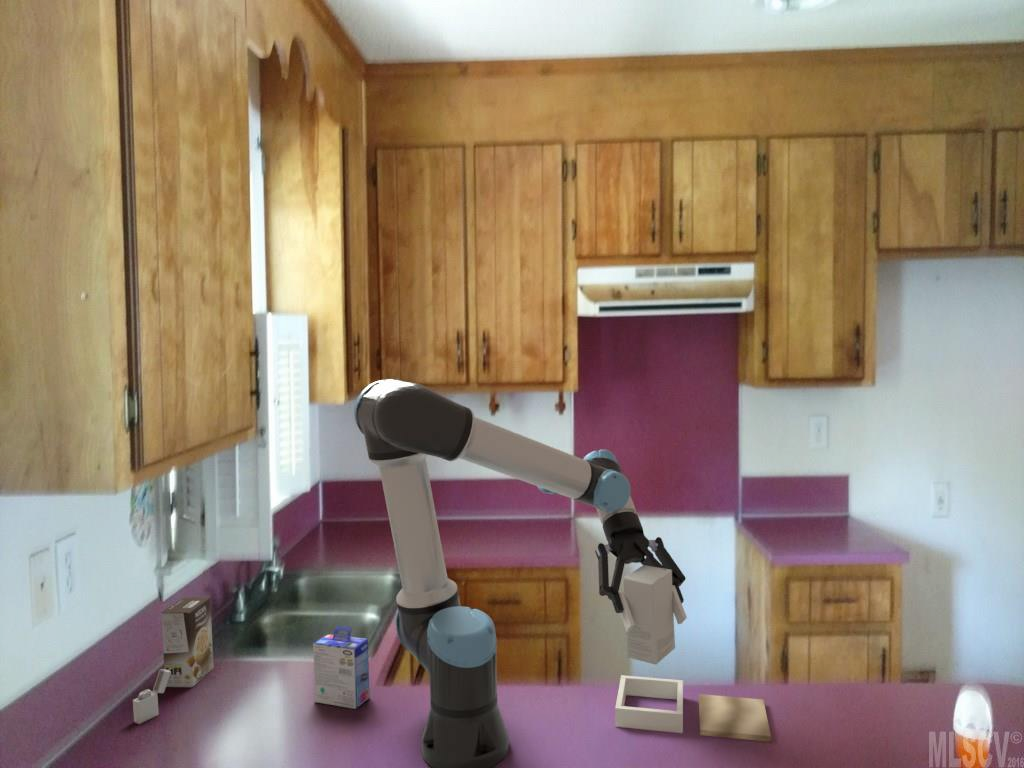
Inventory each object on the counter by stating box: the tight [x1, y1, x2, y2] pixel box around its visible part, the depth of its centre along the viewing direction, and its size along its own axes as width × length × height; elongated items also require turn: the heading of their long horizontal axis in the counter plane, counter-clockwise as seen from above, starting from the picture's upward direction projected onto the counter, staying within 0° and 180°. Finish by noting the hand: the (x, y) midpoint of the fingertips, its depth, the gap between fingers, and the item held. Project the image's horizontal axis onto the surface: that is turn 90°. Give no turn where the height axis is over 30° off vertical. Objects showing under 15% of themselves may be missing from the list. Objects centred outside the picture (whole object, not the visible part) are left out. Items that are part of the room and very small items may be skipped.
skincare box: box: [623, 565, 676, 665], centre depth 139 cm, size 8×7×16 cm
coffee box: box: [160, 596, 214, 688], centre depth 159 cm, size 9×6×16 cm
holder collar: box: [614, 674, 684, 734], centre depth 140 cm, size 12×13×4 cm
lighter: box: [132, 668, 171, 725], centre depth 144 cm, size 7×2×8 cm, turn 148°
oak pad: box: [698, 693, 772, 743], centre depth 137 cm, size 12×13×1 cm
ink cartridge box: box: [312, 625, 371, 710], centre depth 147 cm, size 10×6×14 cm, turn 71°
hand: (656, 624), depth 136 cm, fingers closed on skincare box, 10 cm apart
